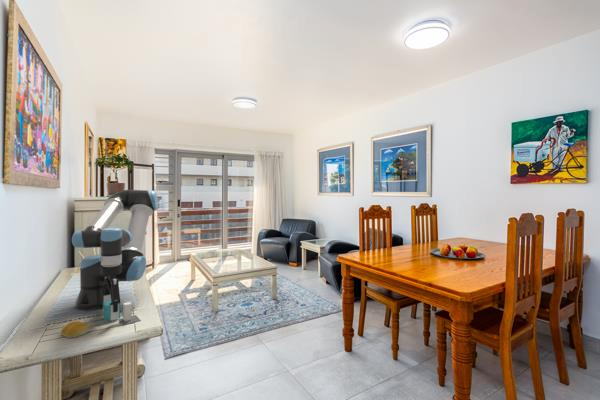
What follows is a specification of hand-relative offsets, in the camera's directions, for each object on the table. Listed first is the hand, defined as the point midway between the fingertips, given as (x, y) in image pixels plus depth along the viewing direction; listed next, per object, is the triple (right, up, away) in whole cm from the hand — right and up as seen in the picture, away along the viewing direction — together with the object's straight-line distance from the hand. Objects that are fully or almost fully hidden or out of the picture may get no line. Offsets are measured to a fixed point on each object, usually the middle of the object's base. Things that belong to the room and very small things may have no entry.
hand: (110, 314), depth 127 cm
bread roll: (-5, -2, -13) cm, 14 cm away
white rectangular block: (+8, -2, -1) cm, 8 cm away
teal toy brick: (0, -2, 0) cm, 2 cm away
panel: (+9, -2, -1) cm, 9 cm away
